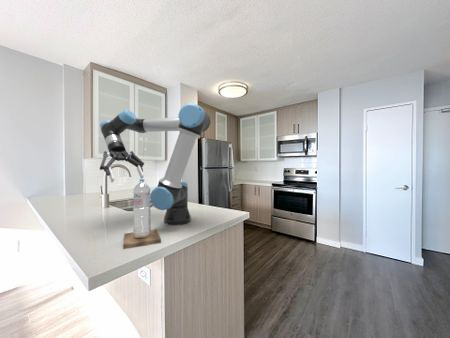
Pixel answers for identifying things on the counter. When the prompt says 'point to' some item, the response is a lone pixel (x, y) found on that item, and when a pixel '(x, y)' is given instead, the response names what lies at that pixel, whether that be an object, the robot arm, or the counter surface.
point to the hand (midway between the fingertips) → (128, 178)
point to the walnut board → (141, 239)
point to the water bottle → (141, 210)
